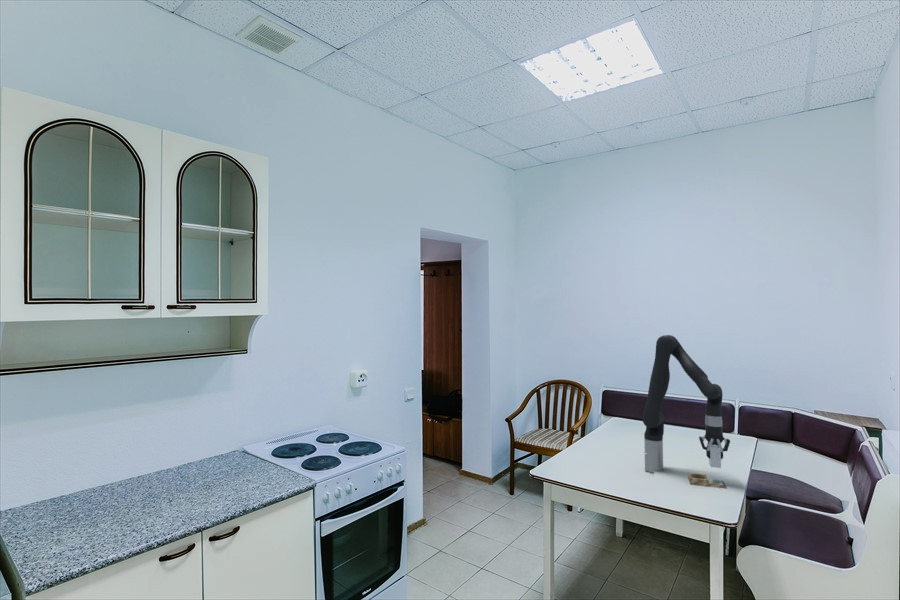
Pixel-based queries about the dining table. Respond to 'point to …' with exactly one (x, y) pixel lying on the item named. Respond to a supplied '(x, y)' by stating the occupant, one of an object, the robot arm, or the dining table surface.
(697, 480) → the brown compartment tray
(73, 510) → the dining table surface
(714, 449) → the block
